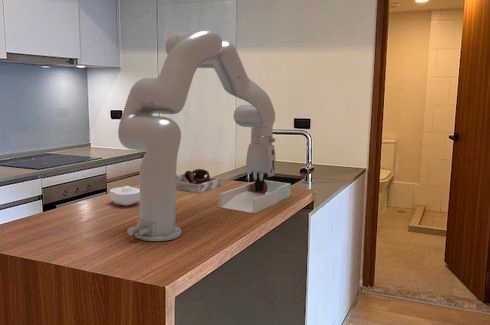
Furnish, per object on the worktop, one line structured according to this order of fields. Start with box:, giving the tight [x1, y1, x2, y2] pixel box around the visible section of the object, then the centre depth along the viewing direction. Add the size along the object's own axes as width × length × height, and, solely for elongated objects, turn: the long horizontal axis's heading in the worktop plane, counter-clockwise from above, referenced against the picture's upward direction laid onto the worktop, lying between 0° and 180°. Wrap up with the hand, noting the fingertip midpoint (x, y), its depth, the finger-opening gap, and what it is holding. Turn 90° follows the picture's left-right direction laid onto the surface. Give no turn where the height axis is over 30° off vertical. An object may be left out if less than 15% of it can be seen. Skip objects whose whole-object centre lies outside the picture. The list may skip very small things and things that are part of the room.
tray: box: [244, 179, 292, 203], centre depth 174 cm, size 12×13×5 cm
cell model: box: [109, 185, 140, 207], centre depth 155 cm, size 10×12×7 cm
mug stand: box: [176, 173, 222, 194], centre depth 188 cm, size 17×19×3 cm
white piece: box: [218, 185, 279, 214], centre depth 161 cm, size 18×14×6 cm
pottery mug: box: [184, 168, 211, 185], centre depth 189 cm, size 12×10×8 cm
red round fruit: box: [252, 181, 268, 194], centre depth 173 cm, size 6×6×8 cm
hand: (259, 190), depth 167 cm, fingers closed
